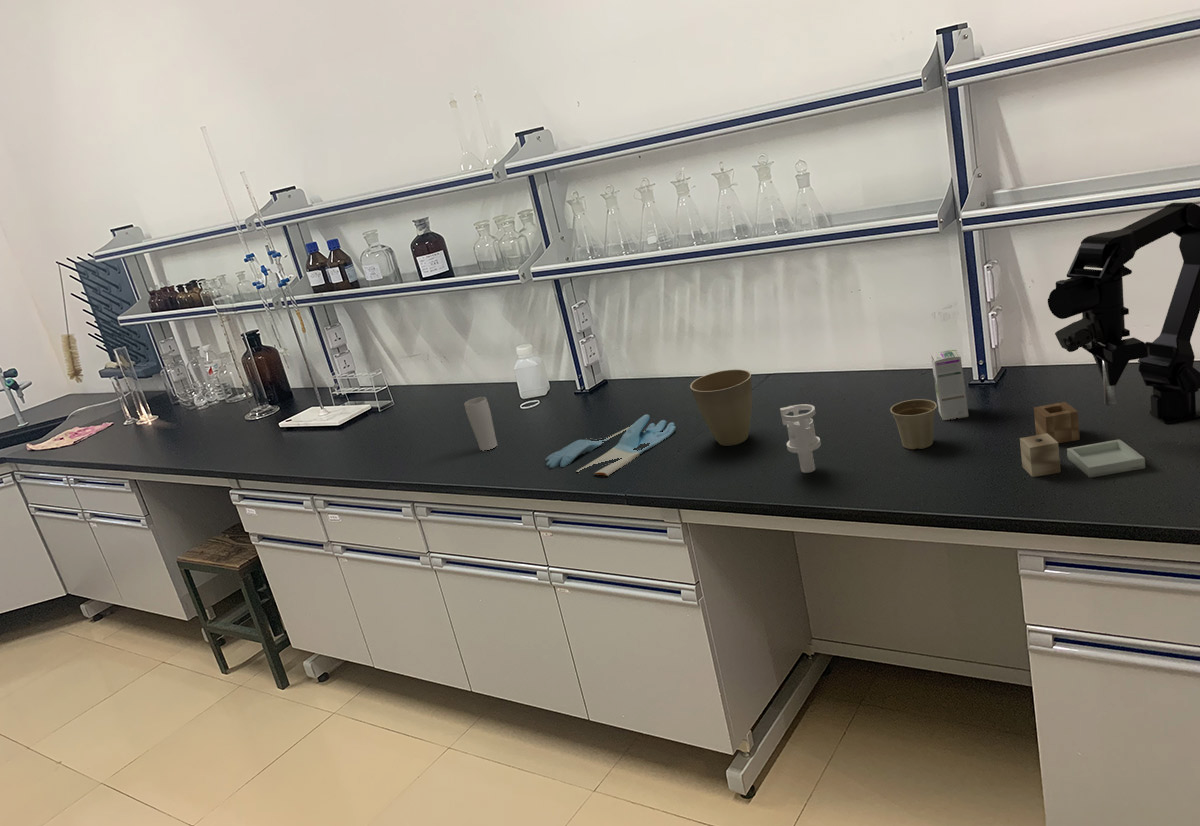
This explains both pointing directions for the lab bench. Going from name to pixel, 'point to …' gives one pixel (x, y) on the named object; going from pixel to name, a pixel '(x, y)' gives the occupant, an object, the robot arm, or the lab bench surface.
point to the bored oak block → (1057, 422)
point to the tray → (1105, 458)
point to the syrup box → (949, 385)
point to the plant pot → (725, 404)
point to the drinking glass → (481, 422)
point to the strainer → (801, 434)
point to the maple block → (1040, 455)
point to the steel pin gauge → (1108, 390)
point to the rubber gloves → (621, 450)
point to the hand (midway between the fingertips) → (1109, 383)
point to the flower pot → (915, 422)
